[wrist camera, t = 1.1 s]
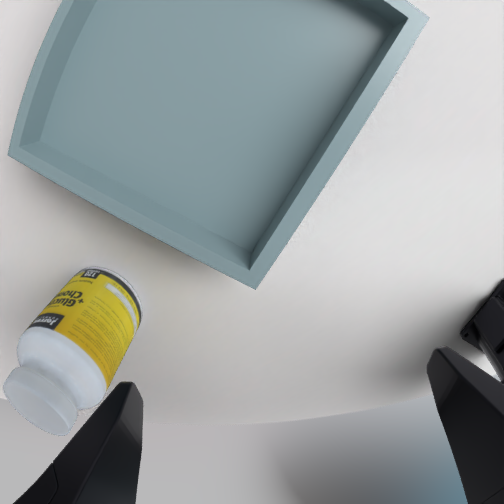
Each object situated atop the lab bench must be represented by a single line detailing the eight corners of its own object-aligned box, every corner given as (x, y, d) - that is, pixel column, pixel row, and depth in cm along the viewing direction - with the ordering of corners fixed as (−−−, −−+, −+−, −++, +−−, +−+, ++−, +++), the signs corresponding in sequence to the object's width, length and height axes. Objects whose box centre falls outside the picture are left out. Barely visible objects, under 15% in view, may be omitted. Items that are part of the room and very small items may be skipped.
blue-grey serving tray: (393, 34, 14) (429, 17, 10) (259, 247, 21) (255, 289, 16) (160, -68, 12) (132, -102, 7) (54, 140, 18) (7, 154, 14)
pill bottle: (126, 256, 22) (38, 372, 11) (157, 328, 25) (105, 452, 14) (61, 269, 23) (-26, 365, 12) (93, 333, 26) (33, 436, 15)
